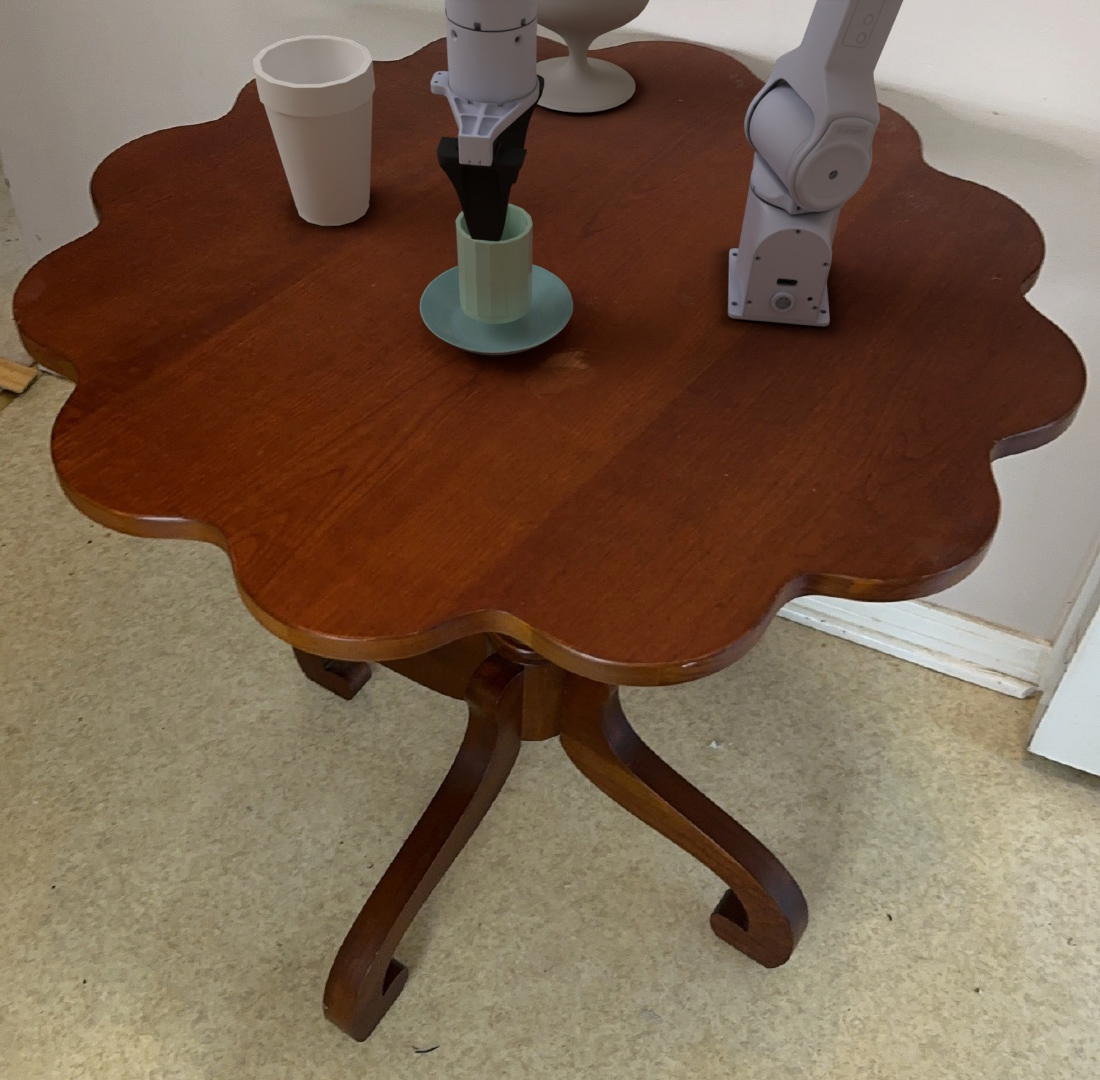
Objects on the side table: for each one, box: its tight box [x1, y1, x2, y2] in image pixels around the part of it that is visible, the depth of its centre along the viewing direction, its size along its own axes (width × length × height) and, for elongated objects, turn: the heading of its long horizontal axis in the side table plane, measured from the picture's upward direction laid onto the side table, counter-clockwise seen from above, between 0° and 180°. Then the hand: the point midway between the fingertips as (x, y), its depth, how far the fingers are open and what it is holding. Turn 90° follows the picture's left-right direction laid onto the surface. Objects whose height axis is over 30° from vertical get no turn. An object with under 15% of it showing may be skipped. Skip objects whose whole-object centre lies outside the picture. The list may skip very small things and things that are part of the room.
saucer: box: [419, 263, 574, 356], centre depth 85 cm, size 12×12×2 cm
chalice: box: [536, 0, 650, 113], centre depth 107 cm, size 14×14×15 cm
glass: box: [455, 202, 534, 324], centre depth 81 cm, size 6×6×7 cm
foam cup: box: [252, 34, 376, 227], centre depth 92 cm, size 10×9×13 cm
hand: (494, 208), depth 78 cm, fingers open, 7 cm apart
